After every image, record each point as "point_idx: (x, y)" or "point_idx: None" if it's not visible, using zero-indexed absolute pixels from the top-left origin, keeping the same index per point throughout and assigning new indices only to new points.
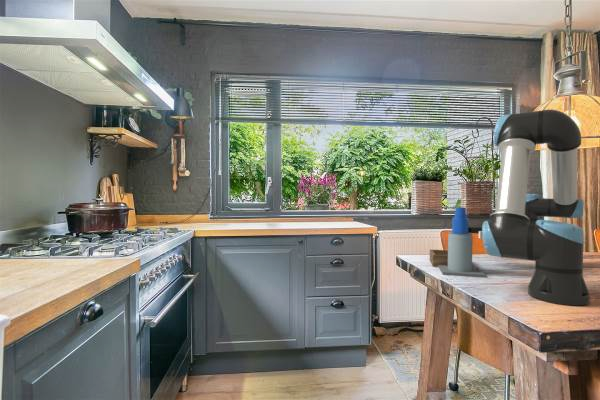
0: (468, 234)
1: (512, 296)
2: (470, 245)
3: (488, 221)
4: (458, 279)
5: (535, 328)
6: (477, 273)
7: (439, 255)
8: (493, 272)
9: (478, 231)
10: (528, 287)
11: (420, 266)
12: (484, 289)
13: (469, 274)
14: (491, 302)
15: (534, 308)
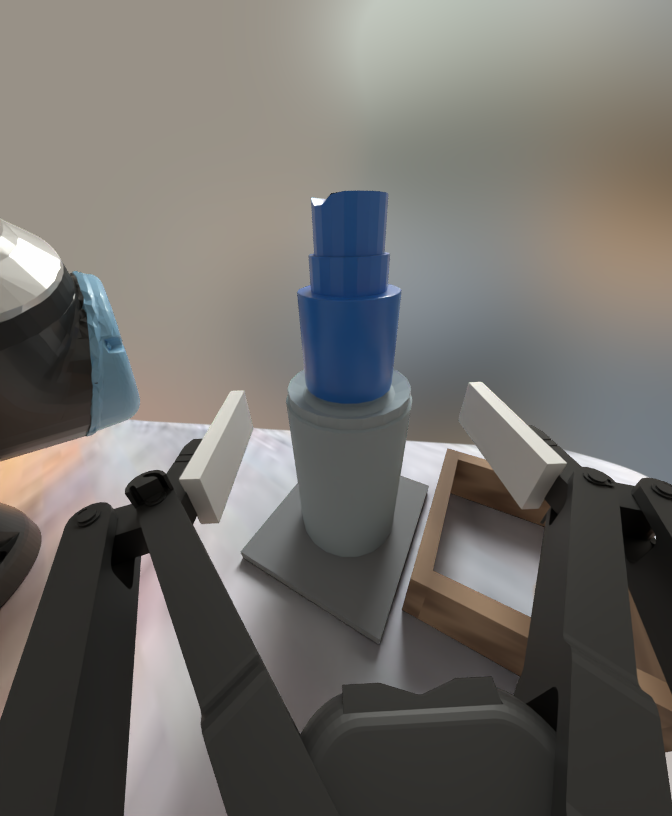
0: (343, 417)
1: (87, 481)
2: (293, 443)
3: (73, 277)
4: (268, 462)
5: None
6: (271, 534)
7: (443, 464)
8: (300, 707)
9: (545, 594)
10: (26, 520)
11: (439, 452)
12: (168, 463)
13: (280, 505)
14: (119, 427)
15: (25, 465)
